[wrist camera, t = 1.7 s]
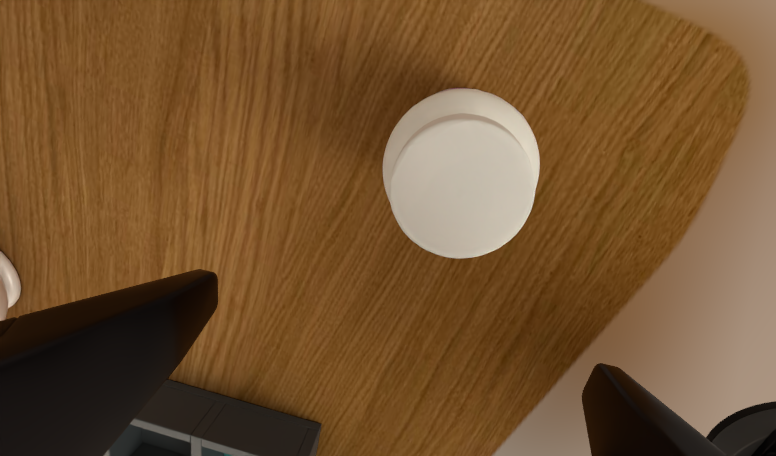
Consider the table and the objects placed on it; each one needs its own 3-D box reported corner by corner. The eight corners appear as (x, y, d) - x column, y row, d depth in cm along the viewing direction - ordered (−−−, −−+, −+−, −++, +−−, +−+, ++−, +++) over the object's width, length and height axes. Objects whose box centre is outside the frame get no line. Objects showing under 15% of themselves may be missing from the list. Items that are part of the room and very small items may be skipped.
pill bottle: (502, 197, 20) (542, 293, 11) (401, 189, 20) (362, 272, 12) (519, 88, 18) (586, 96, 9) (408, 83, 18) (366, 86, 10)
